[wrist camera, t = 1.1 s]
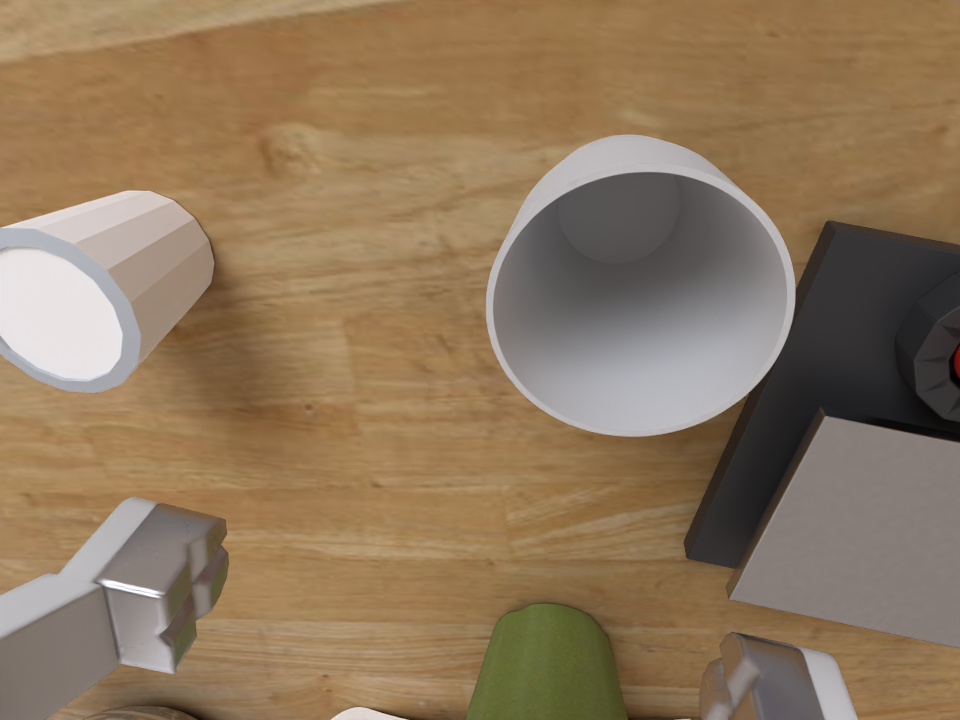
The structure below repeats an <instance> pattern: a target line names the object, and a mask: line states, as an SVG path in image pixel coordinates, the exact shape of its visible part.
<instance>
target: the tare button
mask: <svg viewBox="0 0 960 720" xmlns="http://www.w3.org/2000/svg"><path fill="white" fill-rule="evenodd" d="M954 366H955V371H956V373H957V375H958V377H959V378H960V345H959V347H958V349H957V352H956V354H955V359H954Z"/></svg>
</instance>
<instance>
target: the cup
mask: <svg viewBox="0 0 960 720" xmlns="http://www.w3.org/2000/svg"><path fill="white" fill-rule="evenodd" d="M794 308H795V278H794V271H793V266H792V262H791V259H790V255H789V252H788V250H787V247H786V245H785V243H784V241H783V238H782V237H781V235H780V233H779V231H778V230H777V228H776V227H775V225H774V224H773V222H772V221H771V219H770V218H769V217H768V216H767V214H766V213H765V212H764V211H763V210H762V209H761V208H760V207H759V206H758V205H757V204H756V203H755V202H754V201H753V200H752V199H751V198H750V197H748V196H747V195H746V194H745V193H744V192H743V191H742V190H741V189H740V188H738V187H737V186H736V185H735V184H734V183H733V182H732V181H731V180H730V179H729V178H727V177H726V176H725V175H724V174H723V173H722V172H721V171H720V170H719V169H717V168H716V167H715V166H714V165H713V164H712V163H710V162H709V161H708V160H706V159H705V158H703V157H702V156H700V155H698V154H697V153H695V152H693V151H691V150H689V149H687V148H684V147H682V146H679V145H676V144H673V143H669V142H666V141H662V140H659V139H655V138H652V137H648V136H642V135H616V136H610V137H605V138H602V139H598V140H596V141H593V142H590V143H588V144H586V145H584V146H582V147H580V148H579V149H577V150H575V151H574V152H572V153H571V154H570V155H568V156H567V157H566V158H565V159H563V160H562V161H561V162H560V163H559V164H557V165H556V166H555V167H554V168H553V169H552V170H550V171H549V172H548V173H547V174H546V175H545V176H544V177H543V178H542V179H541V180H540V181H539V182H538V183H537V184H536V186H535V187H534V188H533V189H532V191H531V192H530V193H529V195H528V197H527V198H526V200H525V201H524V203H523V205H522V207H521V209H520V211H519V213H518V215H517V217H516V219H515V221H514V223H513V225H512V227H511V229H510V231H509V233H508V235H507V237H506V239H505V241H504V243H503V245H502V246H501V248H500V250H499V253H498V255H497V257H496V259H495V262H494V264H493V267H492V270H491V274H490V278H489V282H488V287H487V295H486V319H487V327H488V332H489V336H490V340H491V343H492V346H493V349H494V352H495V354H496V356H497V359H498V361H499V362H500V364H501V366H502V368H503V370H504V371H505V373H506V374H507V376H508V377H509V378H510V380H511V381H512V382H513V384H514V385H515V386H516V387H517V388H518V389H519V390H520V392H521V393H522V394H523V395H524V396H526V397H527V398H528V399H529V400H530V401H531V402H532V403H534V404H535V405H536V406H538V407H539V408H540V409H542V410H543V411H545V412H546V413H548V414H550V415H551V416H553V417H555V418H557V419H559V420H561V421H563V422H565V423H567V424H570V425H572V426H575V427H578V428H581V429H584V430H587V431H591V432H595V433H600V434H606V435H614V436H628V437H636V436H651V435H659V434H665V433H670V432H674V431H678V430H682V429H685V428H688V427H691V426H694V425H697V424H699V423H702V422H704V421H706V420H708V419H710V418H712V417H714V416H716V415H718V414H720V413H721V412H723V411H725V410H726V409H728V408H729V407H731V406H732V405H734V404H735V403H737V402H738V401H739V400H740V399H742V398H743V397H744V396H745V395H746V394H748V393H749V392H750V391H751V390H752V389H753V388H754V387H755V386H756V385H757V384H758V383H759V382H760V381H761V379H762V378H763V377H764V376H765V375H766V373H767V372H768V371H769V369H770V368H771V367H772V365H773V364H774V362H775V361H776V359H777V357H778V355H779V354H780V352H781V350H782V348H783V346H784V343H785V341H786V339H787V336H788V333H789V330H790V327H791V323H792V319H793V314H794Z"/></svg>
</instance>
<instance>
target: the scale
mask: <svg viewBox="0 0 960 720" xmlns="http://www.w3.org/2000/svg"><path fill="white" fill-rule="evenodd" d="M959 345H960V245H956V244H951V243H946V242H940V241H935V240H930V239H924V238H919V237H914V236H909V235H903V234H898V233H893V232H887V231H882V230H877V229H871V228H866V227H861V226H855V225H850V224H845V223H839V222H834V221H827V222H826V224H825V226H824V228H823V231H822V233H821V235H820V237H819V240H818V242H817V244H816V246H815V249H814V251H813V253H812V255H811V258H810V260H809V262H808V264H807V267H806V269H805V271H804V273H803V275H802V278H801V280H800V282H799V284H798V287H797V289H796V291H795V308H794V314H793V319H792V323H791V327H790V330H789V333H788V336H787V339H786V341H785V343H784V346H783V348H782V350H781V352H780V354H779V355H778V357H777V359H776V361H775V362H774V364H773V365H772V367H771V368H770V369H769V371H768V372H767V373H766V375H765V376H764V377H763V378H762V379H761V381H760V382H759V383H758V384H757V385H756V386H755V387H754V388H753V389H752V390H751V392H750V394H749V397H748V399H747V401H746V403H745V406H744V408H743V410H742V412H741V415H740V417H739V419H738V421H737V424H736V426H735V428H734V430H733V433H732V435H731V437H730V439H729V442H728V444H727V446H726V448H725V451H724V453H723V455H722V457H721V460H720V462H719V464H718V466H717V468H716V471H715V473H714V475H713V477H712V480H711V482H710V484H709V486H708V489H707V491H706V493H705V495H704V498H703V500H702V502H701V504H700V507H699V509H698V511H697V513H696V516H695V518H694V520H693V522H692V525H691V527H690V529H689V531H688V534H687V536H686V538H685V540H684V546H685V552H686V557H687V558H688V559H692V560H696V561H701V562H706V563H711V564H715V565H720V566H725V567H730V568H734V569H735V568H736V566H737V564H738V562H739V560H740V558H741V556H742V554H743V552H744V550H745V549H746V547H747V545H748V543H749V541H750V539H751V537H752V535H753V533H754V531H755V529H756V527H757V525H758V524H759V522H760V520H761V518H762V516H763V514H764V512H765V510H766V508H767V506H768V504H769V502H770V500H771V499H772V497H773V495H774V493H775V491H776V489H777V487H778V485H779V483H780V481H781V479H782V477H783V475H784V474H785V472H786V470H787V468H788V466H789V464H790V462H791V460H792V458H793V456H794V454H795V452H796V450H797V449H798V447H799V445H800V443H801V441H802V439H803V437H804V435H805V433H806V431H807V429H808V427H809V425H810V424H811V422H812V420H813V418H814V416H815V414H816V412H817V410H818V408H819V407H820V406H823V407H828V408H833V409H838V410H843V411H848V412H853V413H858V414H863V415H868V416H873V417H878V418H883V419H888V420H893V421H898V422H903V423H908V424H914V425H919V426H924V427H929V428H934V429H939V430H944V431H949V432H954V433H959V434H960V378H959V377H958V375H957V373H956V371H955V366H954V359H955V354H956V352H957V349H958V347H959Z"/></svg>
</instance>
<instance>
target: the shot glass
mask: <svg viewBox="0 0 960 720" xmlns="http://www.w3.org/2000/svg"><path fill="white" fill-rule="evenodd" d="M214 264H215V262H214V258H213V254H212V250H211V246H210V242H209V239H208V238H207V236H206V235H205V233H204V231H203V230H202V228H201V227H200V225H199V224H198V222H197V221H196V219H195V218H194V217H193V216H192V215H191V214H189V213H188V212H187V211H186V210H185V209H183V208H182V207H181V206H180V205H179V204H177V203H176V202H175V201H174V200H171V199H169V198H166V197H164V196H161V195H159V194H157V193H154V192H152V191H124V192H121V193H117V194H114V195H110V196H107V197H104V198H100V199H97V200H93V201H90V202H87V203H83V204H80V205H76V206H73V207H70V208H66V209H63V210H59V211H56V212H53V213H49V214H46V215H42V216H39V217H36V218H32V219H29V220H25V221H22V222H19V223H15V224H12V225H8V226H5V227H2V228H0V354H1V355H2V356H3V357H4V358H5V359H7V360H8V361H10V362H11V363H12V364H14V365H15V366H17V367H18V368H20V369H21V370H22V371H24V372H25V373H27V374H28V375H29V376H31V377H32V378H34V379H36V380H39V381H41V382H44V383H46V384H49V385H52V386H54V387H57V388H60V389H62V390H65V391H71V392H88V393H99V392H102V391H104V390H107V389H110V388H112V387H115V386H118V385H120V384H123V383H124V382H125V380H126V379H127V378H128V377H129V376H130V375H131V374H132V373H133V372H134V370H135V369H136V368H137V367H138V366H139V365H140V364H141V363H142V361H143V360H144V359H145V358H146V357H147V356H148V355H149V354H150V353H151V351H152V350H153V349H154V348H155V347H156V346H157V345H158V344H159V343H160V341H161V340H162V339H163V338H164V337H165V336H166V335H167V334H168V333H169V331H170V330H171V329H172V328H173V327H174V326H175V325H176V324H177V322H178V321H179V320H180V319H181V318H182V317H183V316H184V315H185V314H186V312H187V311H188V310H189V309H190V308H191V307H192V306H193V305H194V304H195V302H196V301H197V300H198V299H199V298H200V297H201V295H202V294H203V293H204V292H205V290H206V289H207V288H208V287H209V285H210V284H211V282H212V276H213V270H214Z"/></svg>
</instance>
